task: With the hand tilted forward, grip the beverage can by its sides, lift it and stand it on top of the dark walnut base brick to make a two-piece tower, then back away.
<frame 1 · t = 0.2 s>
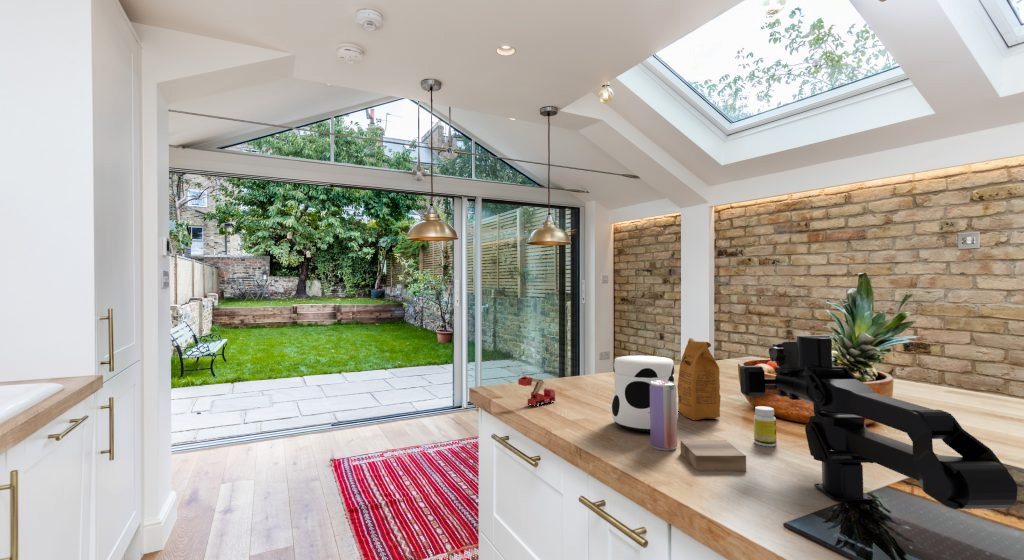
hand: (765, 374, 112), 17 cm above the worktop, tool horizontal, fingers open, 9 cm apart
beverage can: (663, 447, 112), on the worktop
coffee package: (698, 416, 139), on the worktop
walnut base brick: (711, 461, 103), on the worktop
supplement bottle: (765, 444, 114), on the worktop
toy fire truck: (537, 406, 154), on the worktop
milk container: (644, 427, 129), on the worktop
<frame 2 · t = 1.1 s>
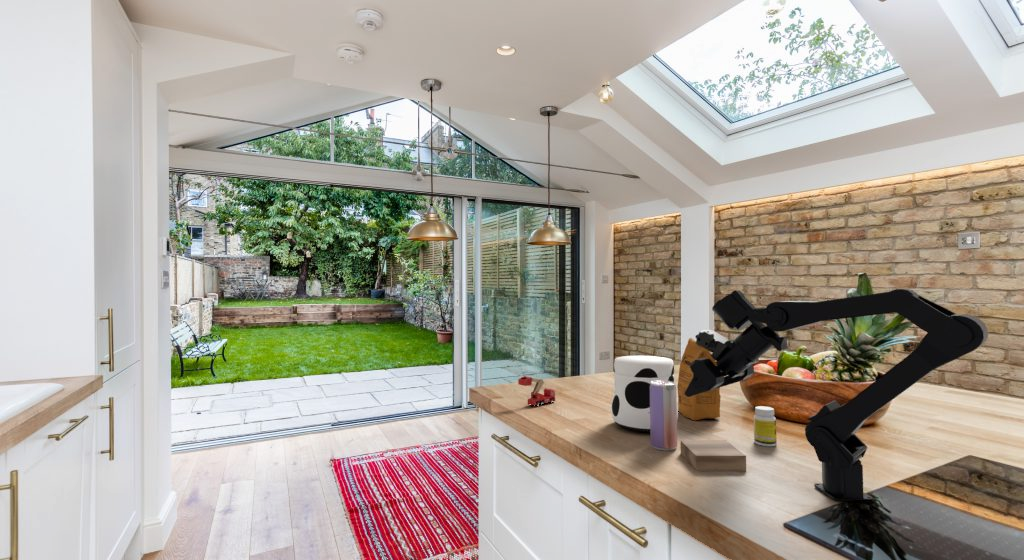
hand: (696, 391, 107), 14 cm above the worktop, tool tilted 45°, fingers open, 9 cm apart
nothing on the worktop moved.
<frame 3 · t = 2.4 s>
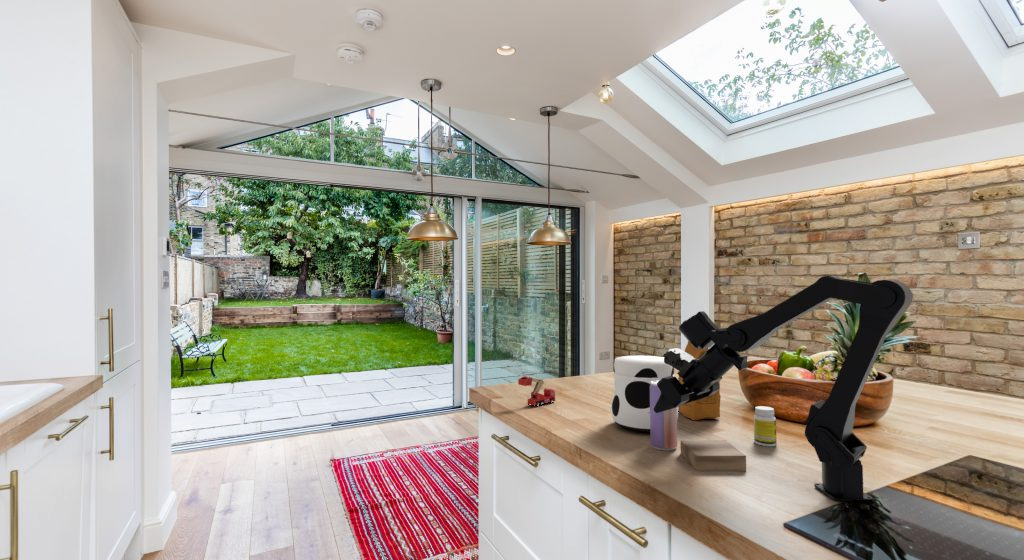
hand: (665, 407, 112), 9 cm above the worktop, tool tilted 45°, fingers open, 9 cm apart
nothing on the worktop moved.
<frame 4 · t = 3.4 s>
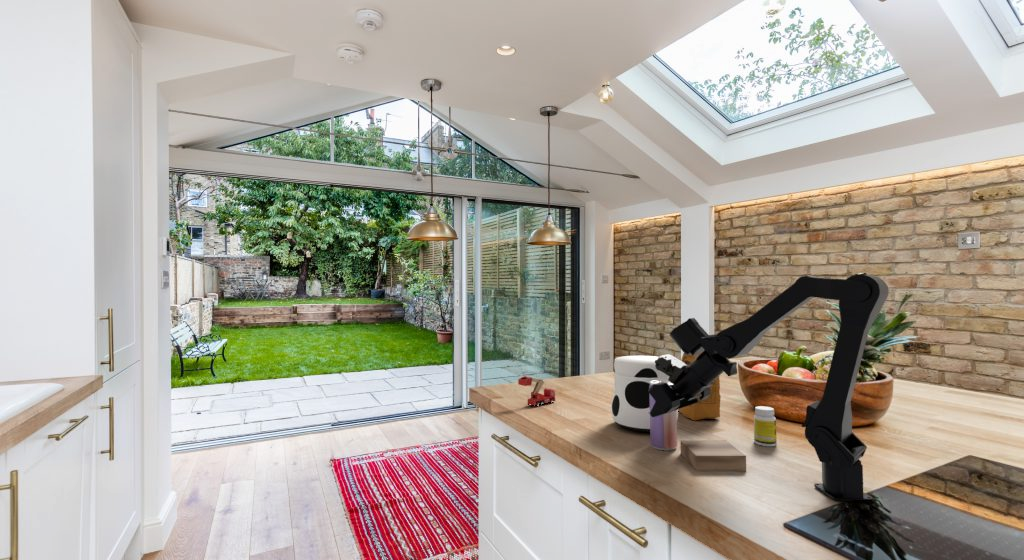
hand: (657, 413, 113), 8 cm above the worktop, tool tilted 45°, fingers closed on beverage can, 5 cm apart
beverage can: (663, 447, 112), on the worktop, touching gripper
everything else where it was.
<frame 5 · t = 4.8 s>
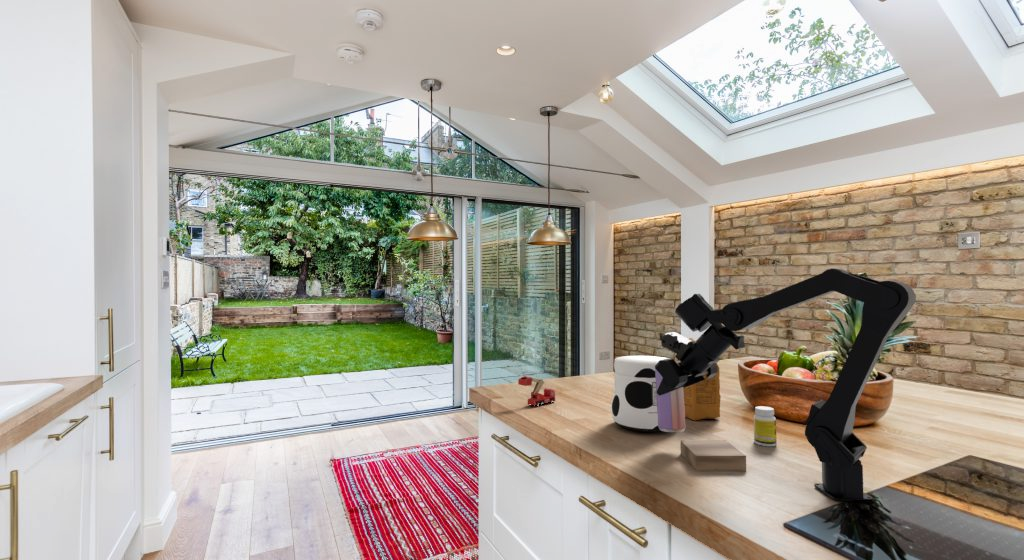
hand: (664, 392, 112), 13 cm above the worktop, tool tilted 45°, fingers closed on beverage can, 5 cm apart
beverage can: (671, 431, 110), point 4 cm above the worktop, touching gripper
everything else where it was.
when the fingers open (12 cm above the worktop, at t = 6.4 s): beverage can stays where it is, resting on walnut base brick.
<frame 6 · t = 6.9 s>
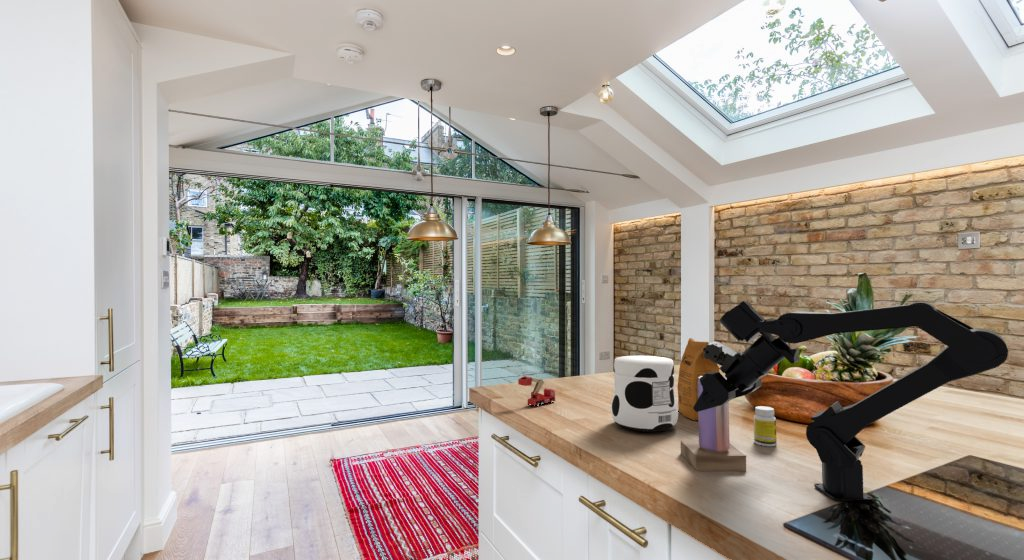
hand: (704, 406, 104), 12 cm above the worktop, tool tilted 45°, fingers open, 9 cm apart
beverage can: (714, 450, 101), point 3 cm above the worktop, touching walnut base brick
everything else where it was.
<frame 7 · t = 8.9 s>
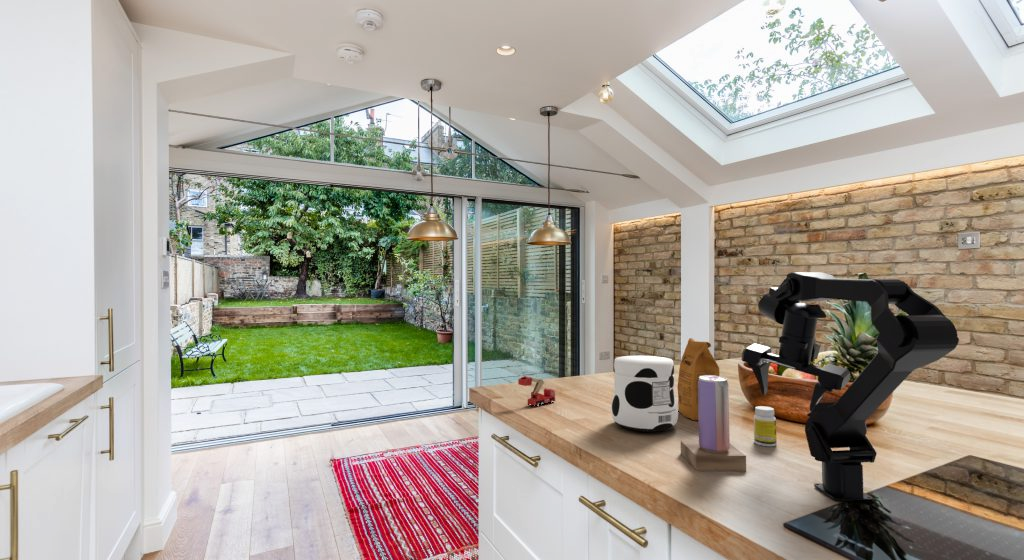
hand: (787, 402, 101), 13 cm above the worktop, tool tilted 15°, fingers open, 9 cm apart
nothing on the worktop moved.
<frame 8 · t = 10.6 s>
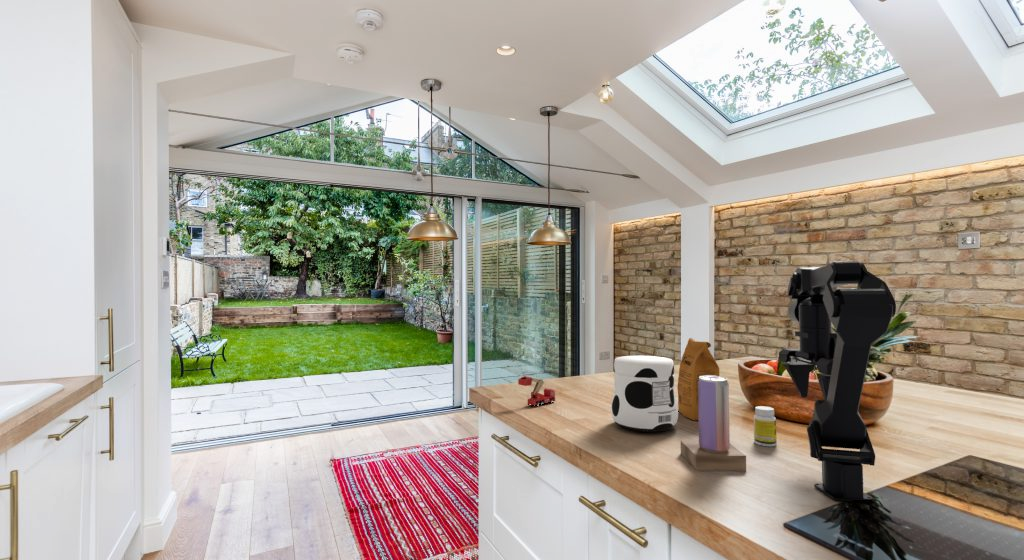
hand: (816, 402, 100), 13 cm above the worktop, tool pointing down, fingers open, 9 cm apart
nothing on the worktop moved.
at the end: beverage can inside the target area on the walnut base brick (1.3 cm from its centre), point 2.8 cm above the walnut base brick's base; beverage can tilted 0°; the gripper is holding nothing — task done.
